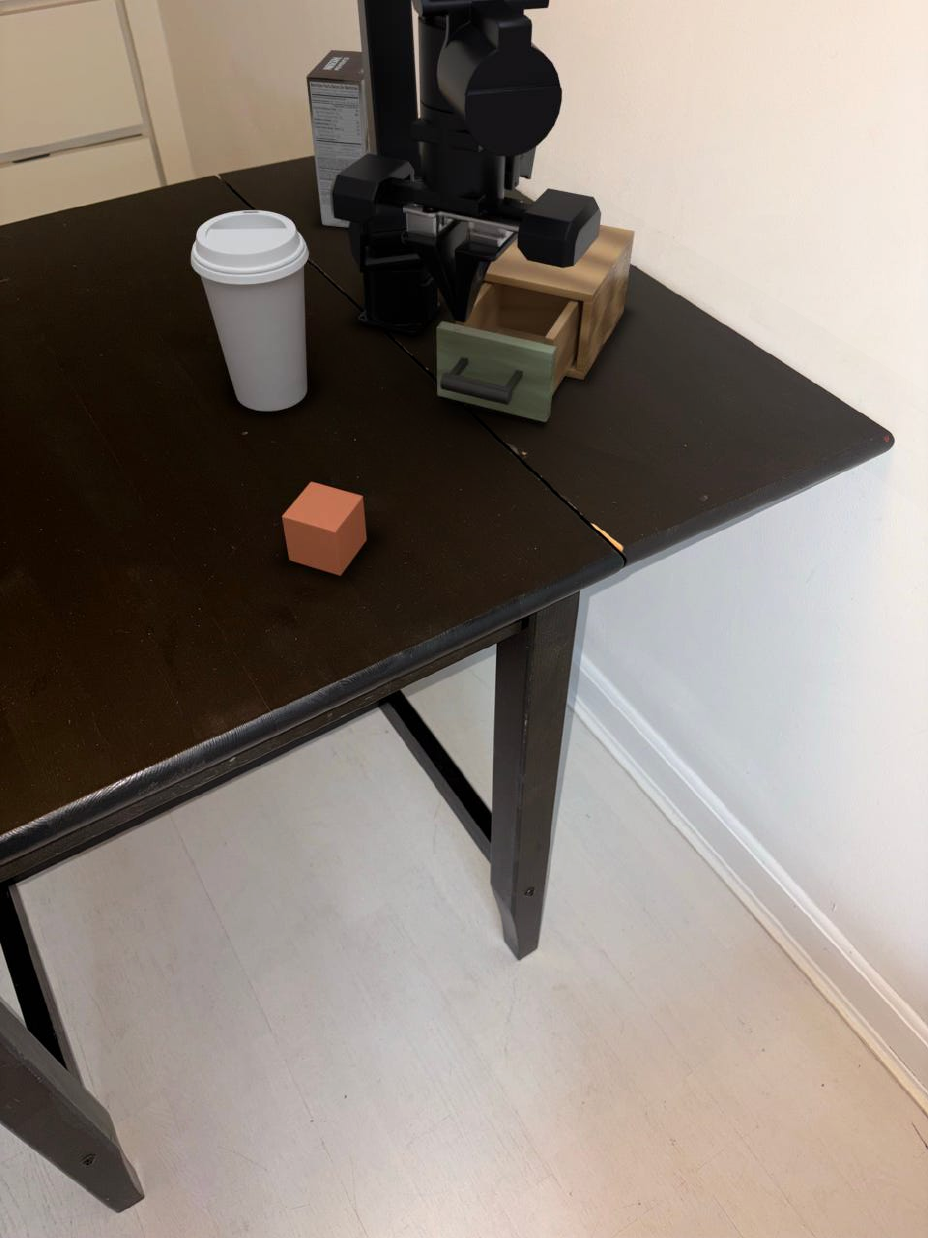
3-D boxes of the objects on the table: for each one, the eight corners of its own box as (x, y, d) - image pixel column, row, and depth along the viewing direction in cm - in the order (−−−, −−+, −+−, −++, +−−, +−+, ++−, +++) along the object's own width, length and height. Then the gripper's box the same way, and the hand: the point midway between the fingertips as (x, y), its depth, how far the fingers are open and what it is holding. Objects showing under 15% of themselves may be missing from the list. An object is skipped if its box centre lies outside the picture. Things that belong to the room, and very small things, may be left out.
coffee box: (342, 193, 117) (330, 47, 105) (393, 198, 116) (386, 51, 105) (320, 226, 111) (304, 74, 99) (373, 231, 110) (363, 79, 98)
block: (289, 560, 72) (281, 516, 69) (317, 525, 75) (311, 480, 72) (340, 576, 71) (335, 532, 68) (367, 539, 74) (363, 495, 71)
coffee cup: (340, 374, 90) (325, 215, 79) (295, 430, 83) (272, 267, 72) (249, 355, 92) (222, 198, 81) (199, 408, 85) (162, 247, 75)
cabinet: (583, 380, 89) (593, 294, 83) (468, 353, 92) (470, 269, 86) (623, 312, 98) (634, 230, 92) (517, 290, 101) (522, 209, 95)
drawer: (529, 450, 80) (534, 380, 75) (417, 421, 83) (414, 352, 78) (588, 352, 91) (596, 285, 86) (487, 329, 94) (490, 263, 89)
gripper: (639, 82, 64) (612, 299, 75) (394, 44, 69) (403, 252, 81) (582, 138, 57) (561, 367, 68) (315, 91, 62) (336, 311, 74)
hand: (462, 319), depth 73 cm, fingers closed
